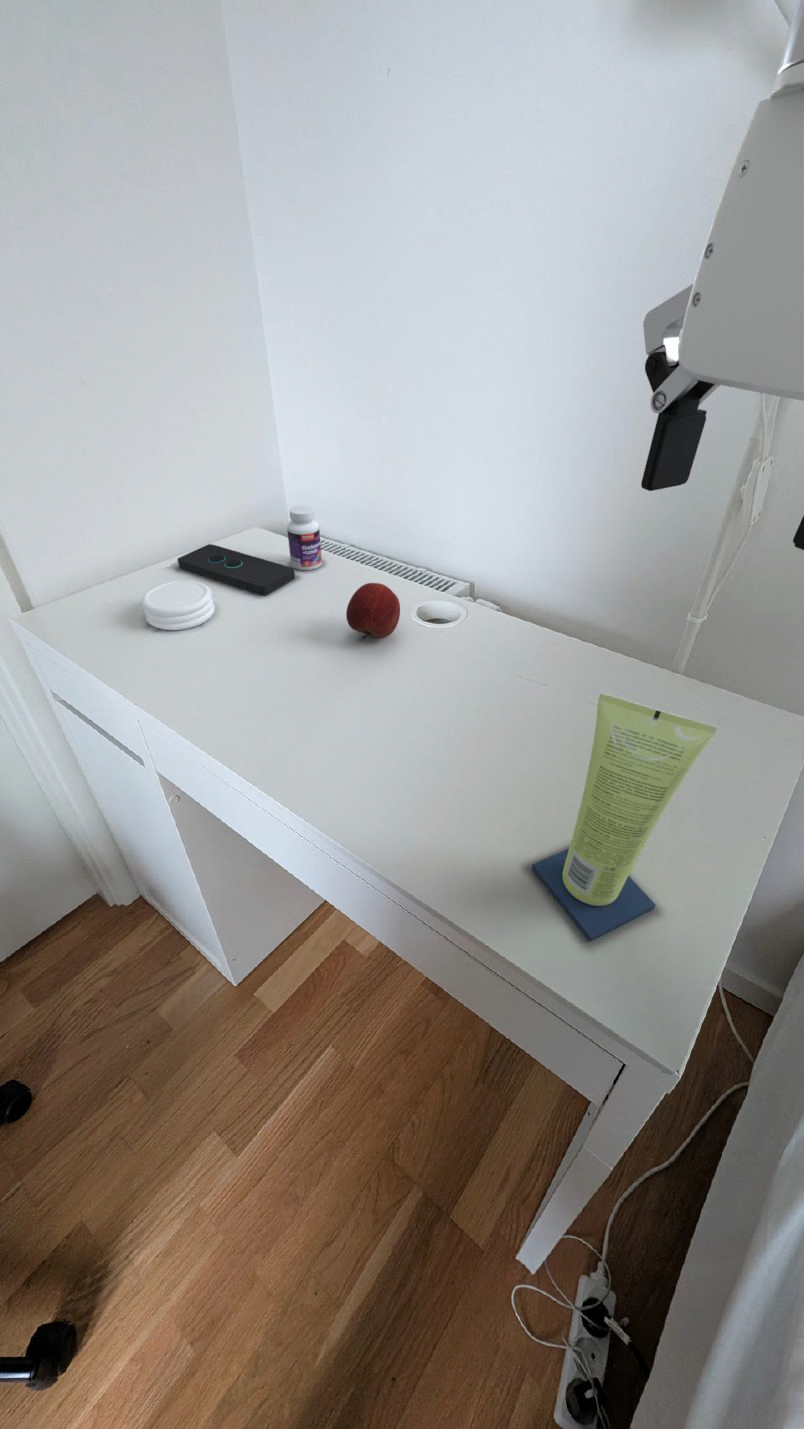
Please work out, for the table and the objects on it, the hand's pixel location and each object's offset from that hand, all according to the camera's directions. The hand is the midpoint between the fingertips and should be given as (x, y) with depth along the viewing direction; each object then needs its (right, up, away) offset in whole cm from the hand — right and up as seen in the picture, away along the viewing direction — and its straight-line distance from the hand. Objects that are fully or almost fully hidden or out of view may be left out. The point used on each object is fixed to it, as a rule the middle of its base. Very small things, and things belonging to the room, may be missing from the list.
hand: (732, 512), depth 31 cm
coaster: (-51, +4, +57) cm, 77 cm away
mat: (-1, -26, +20) cm, 33 cm away
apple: (-22, 0, +53) cm, 57 cm away
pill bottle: (-35, +15, +71) cm, 81 cm away
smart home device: (-46, +13, +68) cm, 83 cm away
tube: (-1, -26, +19) cm, 32 cm away
